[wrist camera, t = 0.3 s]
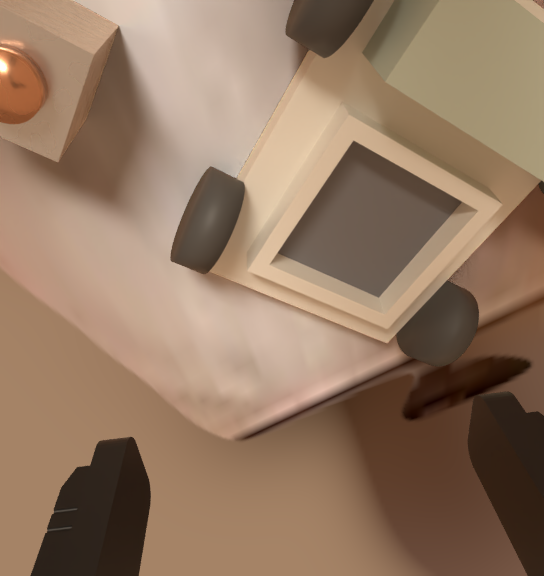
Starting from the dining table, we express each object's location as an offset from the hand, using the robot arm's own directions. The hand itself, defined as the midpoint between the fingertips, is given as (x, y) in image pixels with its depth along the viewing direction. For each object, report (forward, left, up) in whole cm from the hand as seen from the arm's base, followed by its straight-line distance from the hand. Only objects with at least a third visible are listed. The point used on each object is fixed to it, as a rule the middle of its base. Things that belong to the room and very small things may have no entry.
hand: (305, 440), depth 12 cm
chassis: (-1, +8, -22) cm, 24 cm away
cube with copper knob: (+2, -12, -22) cm, 25 cm away
